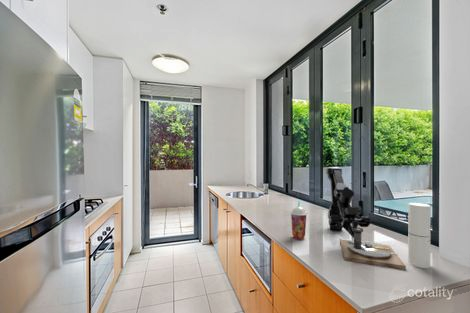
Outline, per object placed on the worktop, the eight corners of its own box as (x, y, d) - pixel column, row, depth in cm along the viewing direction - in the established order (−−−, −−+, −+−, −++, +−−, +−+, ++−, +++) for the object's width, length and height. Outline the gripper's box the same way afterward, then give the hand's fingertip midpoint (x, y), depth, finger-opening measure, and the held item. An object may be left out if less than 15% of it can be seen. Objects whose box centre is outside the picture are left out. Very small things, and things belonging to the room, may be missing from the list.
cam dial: (371, 260, 91) (371, 236, 91) (339, 245, 107) (339, 224, 107) (400, 255, 97) (400, 231, 97) (365, 241, 113) (365, 221, 113)
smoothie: (306, 236, 125) (306, 200, 125) (306, 241, 117) (306, 203, 117) (291, 234, 127) (291, 199, 127) (290, 239, 120) (290, 202, 120)
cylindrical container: (403, 260, 96) (404, 202, 96) (419, 259, 97) (419, 202, 97) (418, 268, 89) (419, 206, 89) (435, 267, 90) (435, 206, 90)
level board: (344, 259, 96) (344, 256, 96) (340, 242, 116) (340, 238, 116) (406, 269, 88) (406, 265, 88) (390, 248, 108) (390, 245, 108)
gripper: (330, 199, 110) (338, 228, 99) (370, 200, 108) (382, 230, 97) (325, 211, 118) (332, 239, 107) (362, 212, 116) (372, 241, 105)
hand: (354, 237), depth 104 cm, fingers closed
